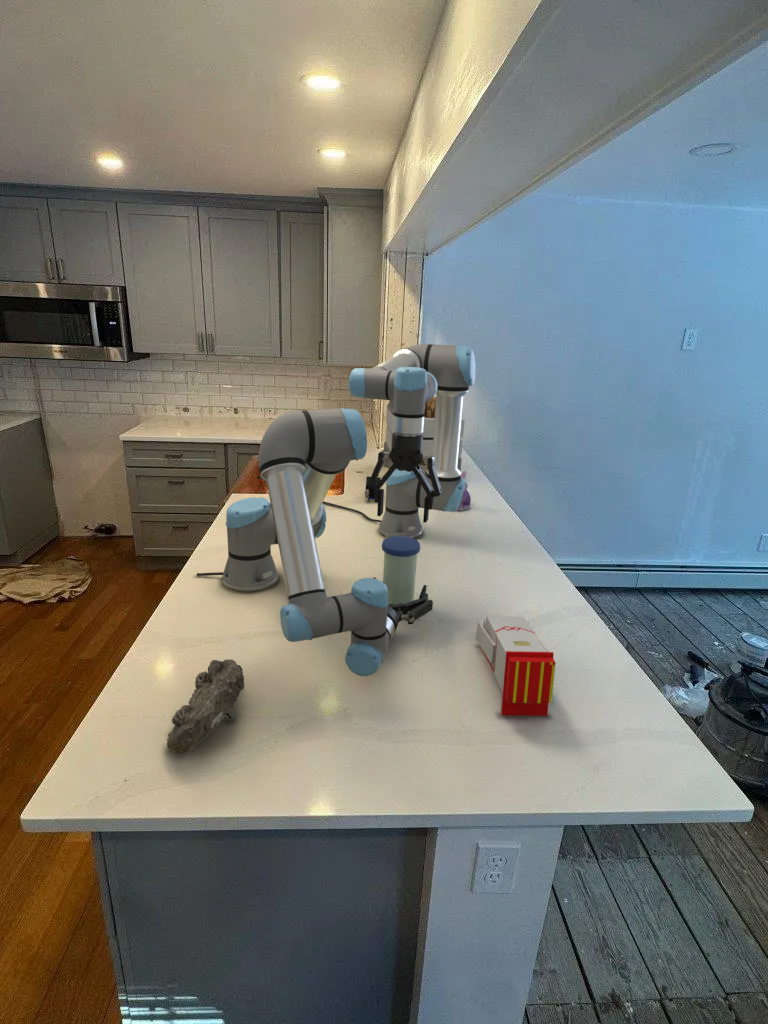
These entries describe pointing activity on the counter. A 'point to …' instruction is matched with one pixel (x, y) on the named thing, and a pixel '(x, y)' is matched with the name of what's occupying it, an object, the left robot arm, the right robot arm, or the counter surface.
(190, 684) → the counter surface
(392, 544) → the lid
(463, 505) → the figurine
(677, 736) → the counter surface
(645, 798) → the counter surface
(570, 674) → the counter surface
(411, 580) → the jar
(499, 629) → the toy
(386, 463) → the grey boxy piece
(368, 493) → the figurine character
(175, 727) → the fossil
